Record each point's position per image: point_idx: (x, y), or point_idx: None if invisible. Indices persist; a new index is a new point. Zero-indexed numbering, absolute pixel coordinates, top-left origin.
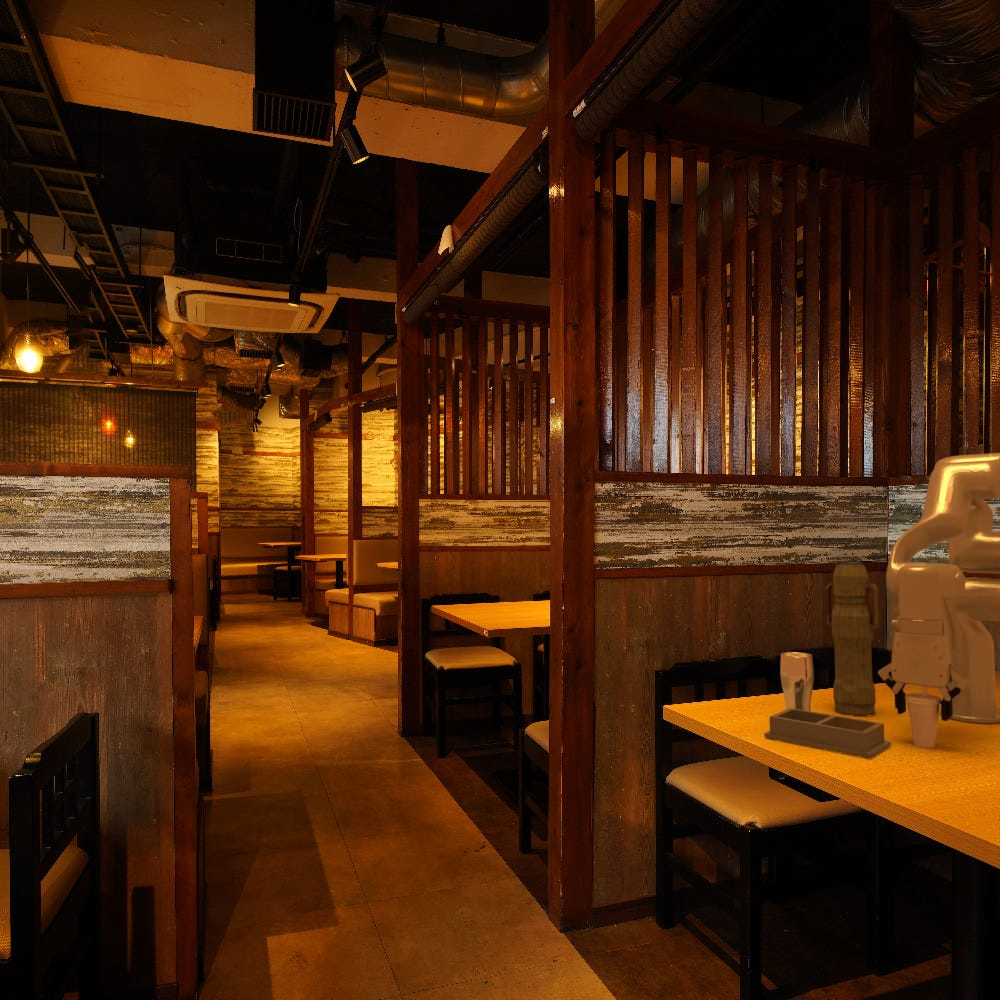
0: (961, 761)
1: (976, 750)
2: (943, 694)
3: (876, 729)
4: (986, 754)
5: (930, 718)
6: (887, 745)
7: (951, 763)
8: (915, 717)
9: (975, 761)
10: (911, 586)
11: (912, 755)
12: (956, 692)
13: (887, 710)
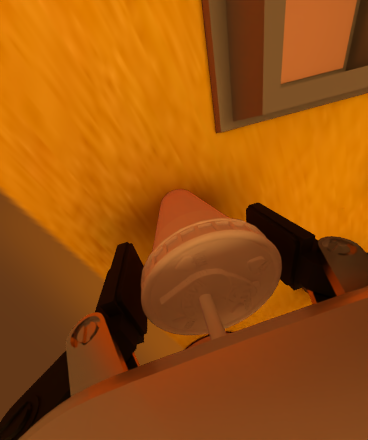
0: (54, 161)
1: (109, 256)
2: (99, 343)
3: (259, 8)
4: (82, 250)
5: (159, 227)
6: (216, 104)
7: (45, 117)
8: (198, 205)
9: (44, 189)
10: None
11: (145, 100)
12: (28, 402)
13: (291, 305)
